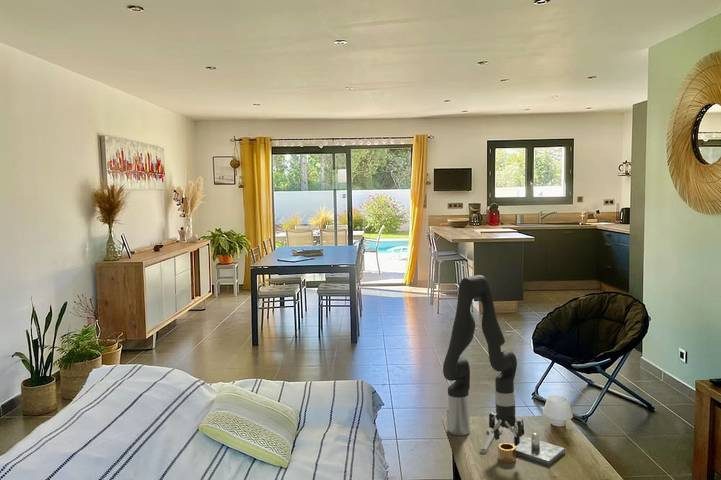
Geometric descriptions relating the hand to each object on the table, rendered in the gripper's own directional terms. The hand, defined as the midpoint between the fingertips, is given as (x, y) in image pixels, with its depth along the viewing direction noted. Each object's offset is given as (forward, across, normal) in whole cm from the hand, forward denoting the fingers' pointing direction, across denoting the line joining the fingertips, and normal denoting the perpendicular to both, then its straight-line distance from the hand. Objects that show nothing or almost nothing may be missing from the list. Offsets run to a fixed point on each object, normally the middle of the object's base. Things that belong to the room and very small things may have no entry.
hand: (506, 442), depth 210 cm
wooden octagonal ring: (+7, 0, 0) cm, 7 cm away
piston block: (+7, +6, +12) cm, 15 cm away
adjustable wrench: (+7, -15, +10) cm, 19 cm away
